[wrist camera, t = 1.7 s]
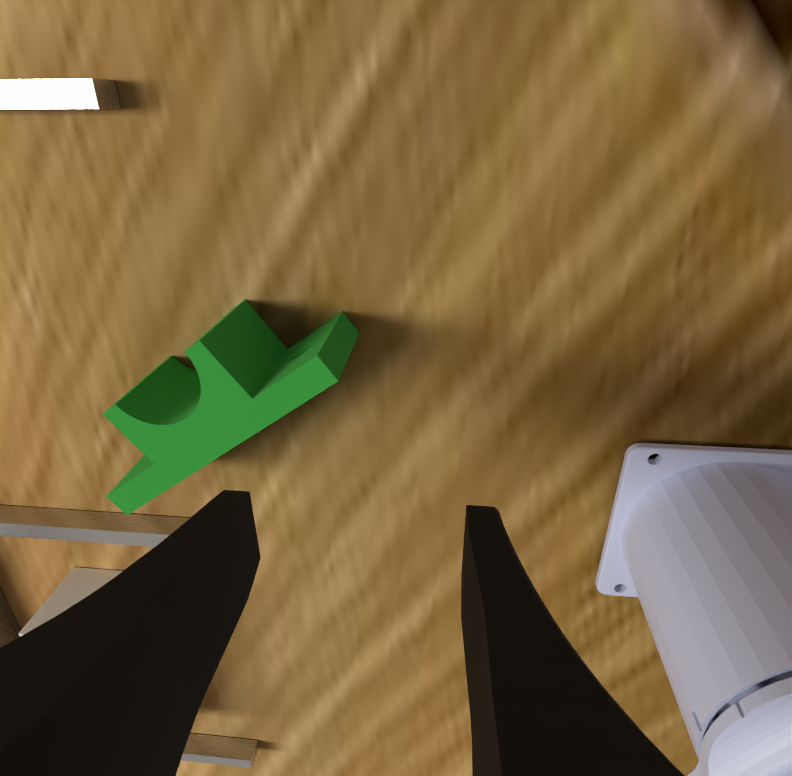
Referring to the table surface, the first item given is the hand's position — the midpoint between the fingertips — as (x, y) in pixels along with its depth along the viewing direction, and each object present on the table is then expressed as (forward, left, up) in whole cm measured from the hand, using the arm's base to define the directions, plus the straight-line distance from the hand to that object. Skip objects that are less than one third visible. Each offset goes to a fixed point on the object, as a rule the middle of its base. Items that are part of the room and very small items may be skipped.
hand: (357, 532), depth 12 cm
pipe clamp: (+7, +1, -10) cm, 12 cm away
